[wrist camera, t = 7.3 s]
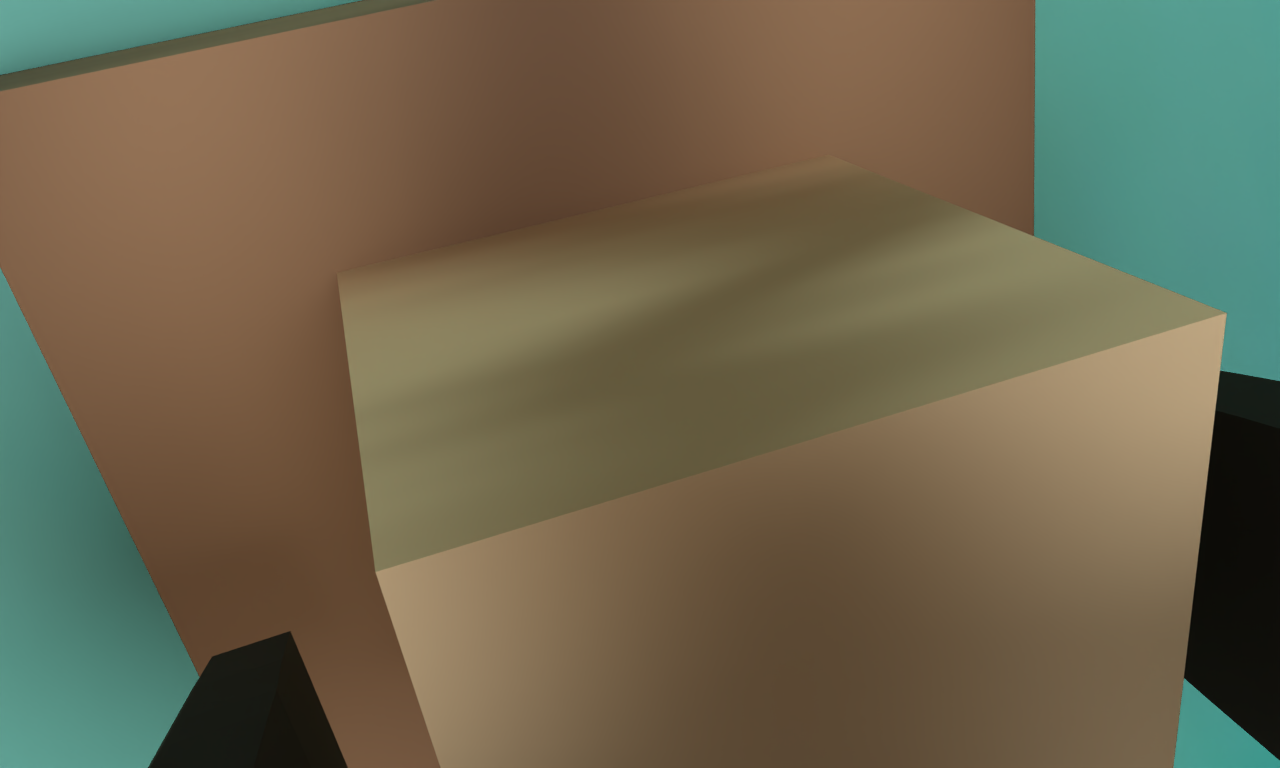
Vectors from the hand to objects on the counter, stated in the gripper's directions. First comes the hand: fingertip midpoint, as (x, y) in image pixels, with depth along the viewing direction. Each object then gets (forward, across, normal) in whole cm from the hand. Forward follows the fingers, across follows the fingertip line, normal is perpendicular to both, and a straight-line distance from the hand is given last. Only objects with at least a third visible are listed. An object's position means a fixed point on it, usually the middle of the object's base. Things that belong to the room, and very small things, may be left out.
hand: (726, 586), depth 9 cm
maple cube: (+2, 0, 0) cm, 2 cm away
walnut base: (+4, 0, 0) cm, 4 cm away
